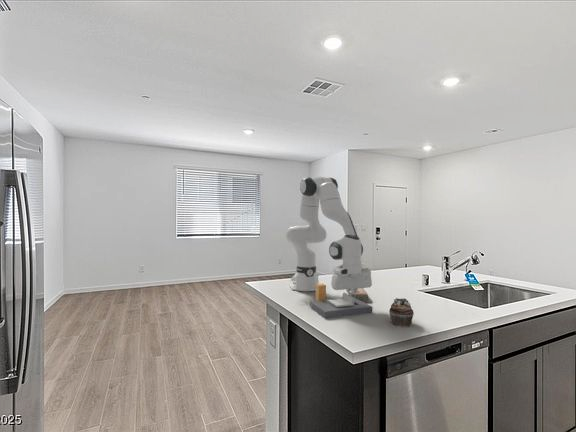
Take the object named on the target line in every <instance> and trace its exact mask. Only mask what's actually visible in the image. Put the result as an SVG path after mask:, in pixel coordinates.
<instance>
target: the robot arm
mask: <svg viewBox="0 0 576 432" xmlns="http://www.w3.org/2000/svg"><path fill="white" fill-rule="evenodd" d="M299 184H300V185H299V190H300V193H301V195H302V196H301V197H300V198H301V200H300V207H299V217H300V218H301V219H302V220H303V221H305V222H307V223H306V225H294V226H290V227H289V228H287V231H286V233H285V236H286V240H287V241H288V242H289V244H291V245H292V246H293V247H294V249H295V252H296V257H297V258H296V259H297V260H296V261H297V266H296V270H295V271H296V272H295V274H294V275H293V276H292V277H291V278H290V281H291V282H290V283H289V284H288V285H289V287H290V289H291V291H299V292H316V284H320V282H319V275H318V274H317V266H316V253H315V252H314V251H313V250H312V249H310V248H309V247H308V244H319V243H323V242H325V240H326V239H327V231H326V228H325V227H324V226H322V224H321V222H320V220H319V210H321V212H322V215H323V216H324V217H326V218H327V219H329V220H331V221H333V222H336V223H337V224H339V225H340V226H341V227H342V229H343V232H344V234H345V235H344V236H343V237H342V238H340V239H338V240H335V241H333V242H331V243H330V245H329V248H328V253H329V256H330V257H331V258H332V260H335V261H342V264H341V265H339V266H335V267H334V268H333V269H332V271H333V274H332V277H331V288H332V289H333V290H335V291H340V290H341V291H342V290H346V292H347V294H348V295H350V296H352V297H354V298H355V297H356V293H357V291H358V288H363V289H365V288H367V289H369V288H371V287H372V285H373V281H372V270H370V268H368V267H366V268H365V267H364V268H363V267H362V258H361V257H362V256H363V253H364V247H363V244H362V241H361V238H360V237H359V236H358V234H357V231H356V228H355V225H354V223H353V220H352V217H351V215H350V214H349V212H348V211H347V210H346V209H345V207H344V205H343V203H342V199H341V195H340V192H339V190H338V188H339V185H338V181H337V180H336V178H333V177H326V176H313V177H310V176H308V177H304V178H302V179H301V181H300V183H299ZM319 208H320V209H319ZM351 289H353V290H354V291H353V293H352V294H351Z"/></svg>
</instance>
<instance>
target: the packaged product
mask: <svg viewBox="0 0 576 432" xmlns="http://www.w3.org/2000/svg"><path fill="white" fill-rule="evenodd" d="M353 291H354V290H353V289H351V291H350V292H351V294H352V293H353ZM355 298H356V299H358V300H360V301H362V302H364V303H373V301H372V298H371V297H370V295H369V294H368V292H367V291H366V290H365V288H358V291H357V293H356V297H355Z"/></svg>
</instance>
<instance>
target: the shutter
mask: <svg viewBox="0 0 576 432" xmlns="http://www.w3.org/2000/svg"><path fill="white" fill-rule="evenodd" d="M327 300H328V302H329V303H331V304H333V305H334V306H336V307H343V306H353V305H354V297H352V296H350V295H349V294H348V293H345V292H343V293H342V298H336V299H327Z"/></svg>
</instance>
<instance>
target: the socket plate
mask: <svg viewBox="0 0 576 432" xmlns="http://www.w3.org/2000/svg"><path fill="white" fill-rule="evenodd" d="M328 300H329V299H326V301H316V300H315V301H310V308H311V310H313V311H314V312H315V313H317V314H318V315H319V316H321V317H322V318H324V319H332V318H340V317H349V316H350V317H352V316H359V315H368V314H373V306H372V305H369V304H368V303H367V302H362V301H360V300H358V299H356V298H354V305H353V306H343V307H336V306H334V305H333V304H331V303H329V302H328Z"/></svg>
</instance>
